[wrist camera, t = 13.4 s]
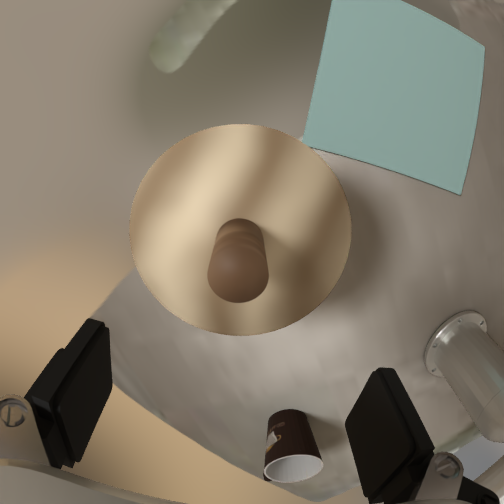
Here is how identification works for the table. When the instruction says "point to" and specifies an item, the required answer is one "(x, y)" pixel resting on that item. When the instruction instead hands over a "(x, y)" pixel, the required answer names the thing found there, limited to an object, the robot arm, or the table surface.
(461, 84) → the rubber mat
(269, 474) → the coffee mug
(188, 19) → the table surface
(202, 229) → the maple lid
